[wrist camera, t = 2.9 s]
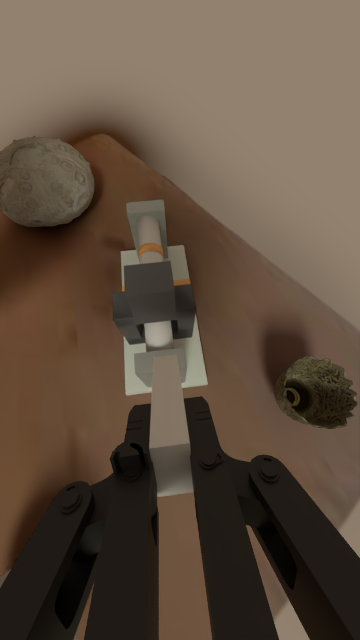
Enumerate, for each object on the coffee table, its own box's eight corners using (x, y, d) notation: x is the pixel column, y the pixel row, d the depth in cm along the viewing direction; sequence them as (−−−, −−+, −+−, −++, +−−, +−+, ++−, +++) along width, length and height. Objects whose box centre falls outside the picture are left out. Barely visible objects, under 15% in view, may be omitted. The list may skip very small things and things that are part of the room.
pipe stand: (206, 384, 32) (219, 368, 22) (127, 395, 31) (102, 383, 21) (183, 249, 42) (184, 194, 31) (122, 255, 41) (103, 202, 31)
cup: (258, 419, 30) (284, 419, 23) (262, 365, 33) (286, 349, 26) (316, 433, 30) (362, 437, 22) (315, 376, 32) (355, 363, 25)
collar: (192, 337, 30) (199, 288, 19) (129, 345, 29) (99, 299, 18) (188, 316, 31) (193, 258, 20) (128, 323, 30) (99, 268, 19)
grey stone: (85, 246, 42) (59, 197, 33) (-6, 235, 43) (-57, 184, 34) (111, 181, 49) (95, 126, 40) (32, 173, 50) (-1, 117, 41)
